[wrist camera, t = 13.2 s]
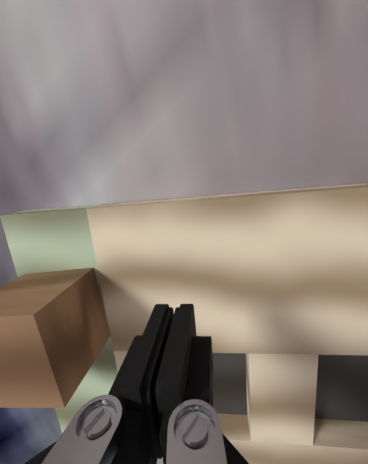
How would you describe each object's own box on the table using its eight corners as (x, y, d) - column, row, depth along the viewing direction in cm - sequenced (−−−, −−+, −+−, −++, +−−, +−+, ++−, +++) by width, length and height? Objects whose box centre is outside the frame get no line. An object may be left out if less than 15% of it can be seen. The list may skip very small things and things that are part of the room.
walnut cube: (24, 274, 18) (-64, 320, 12) (93, 267, 17) (33, 314, 11) (45, 338, 19) (-25, 407, 14) (110, 335, 19) (64, 408, 13)
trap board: (26, 210, 19) (-1, 215, 17) (567, 167, 14) (639, 166, 12) (81, 424, 25) (67, 450, 23) (482, 450, 20) (519, 489, 17)
